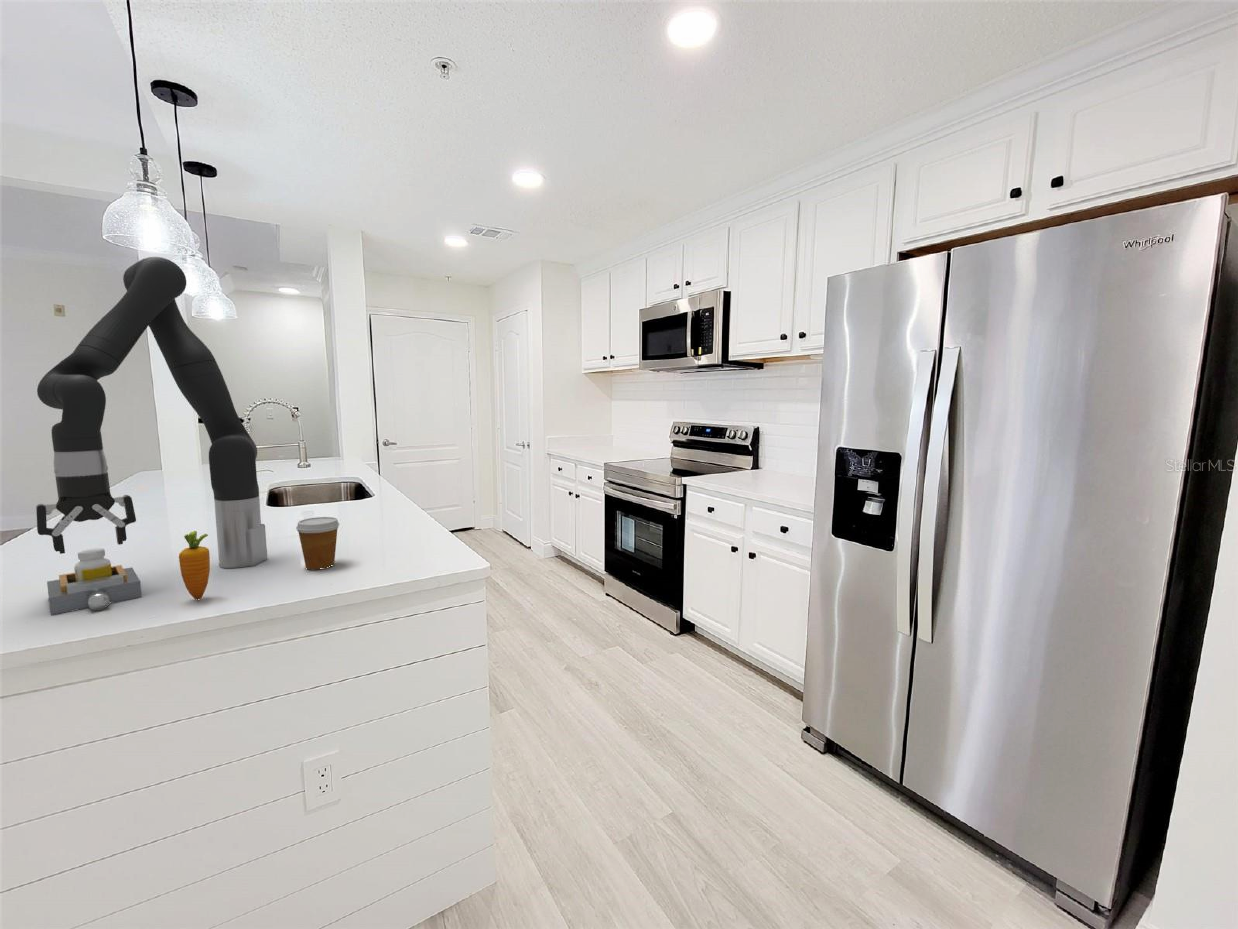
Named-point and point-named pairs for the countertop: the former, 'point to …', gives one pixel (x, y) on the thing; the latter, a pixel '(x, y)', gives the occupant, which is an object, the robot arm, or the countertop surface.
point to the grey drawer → (92, 590)
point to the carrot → (195, 565)
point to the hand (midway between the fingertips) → (91, 548)
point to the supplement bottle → (92, 565)
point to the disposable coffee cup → (318, 541)
